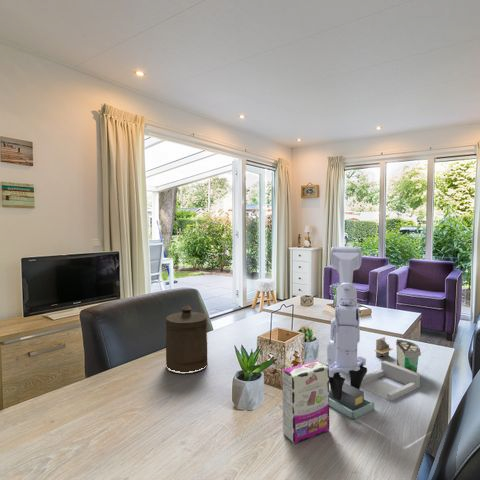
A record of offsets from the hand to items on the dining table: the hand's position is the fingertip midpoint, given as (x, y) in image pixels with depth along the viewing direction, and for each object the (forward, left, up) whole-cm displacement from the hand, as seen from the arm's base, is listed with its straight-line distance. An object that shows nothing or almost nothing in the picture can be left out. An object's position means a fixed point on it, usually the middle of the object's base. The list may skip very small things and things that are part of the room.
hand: (346, 394), depth 98 cm
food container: (-1, +33, -3) cm, 34 cm away
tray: (0, 0, -3) cm, 3 cm away
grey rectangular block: (0, 0, -2) cm, 3 cm away
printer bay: (0, +19, -3) cm, 20 cm away
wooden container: (-50, -27, -3) cm, 57 cm away
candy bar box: (+3, -19, -3) cm, 19 cm away
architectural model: (-15, +39, -4) cm, 42 cm away
